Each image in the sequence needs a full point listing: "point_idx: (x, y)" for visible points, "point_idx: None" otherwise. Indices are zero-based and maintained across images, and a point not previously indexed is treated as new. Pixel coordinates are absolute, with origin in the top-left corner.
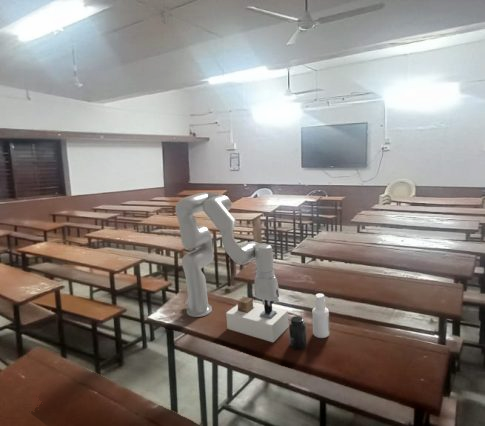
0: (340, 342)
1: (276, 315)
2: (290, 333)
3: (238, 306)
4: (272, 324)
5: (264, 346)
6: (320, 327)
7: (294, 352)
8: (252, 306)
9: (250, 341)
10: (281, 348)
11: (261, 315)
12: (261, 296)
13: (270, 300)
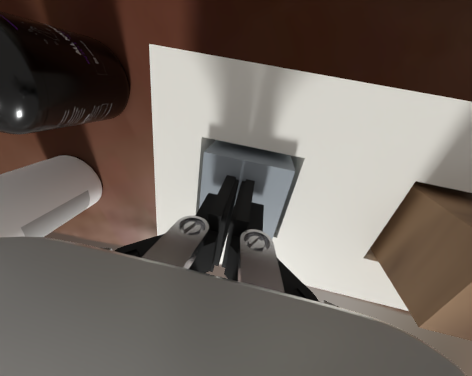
0: (5, 147)
1: (188, 191)
2: (28, 25)
3: None
4: (153, 59)
5: (229, 3)
6: (15, 170)
7: (78, 10)
8: (384, 258)
9: (324, 25)
10: (144, 22)
11: (284, 164)
12: (262, 370)
13: (41, 245)
